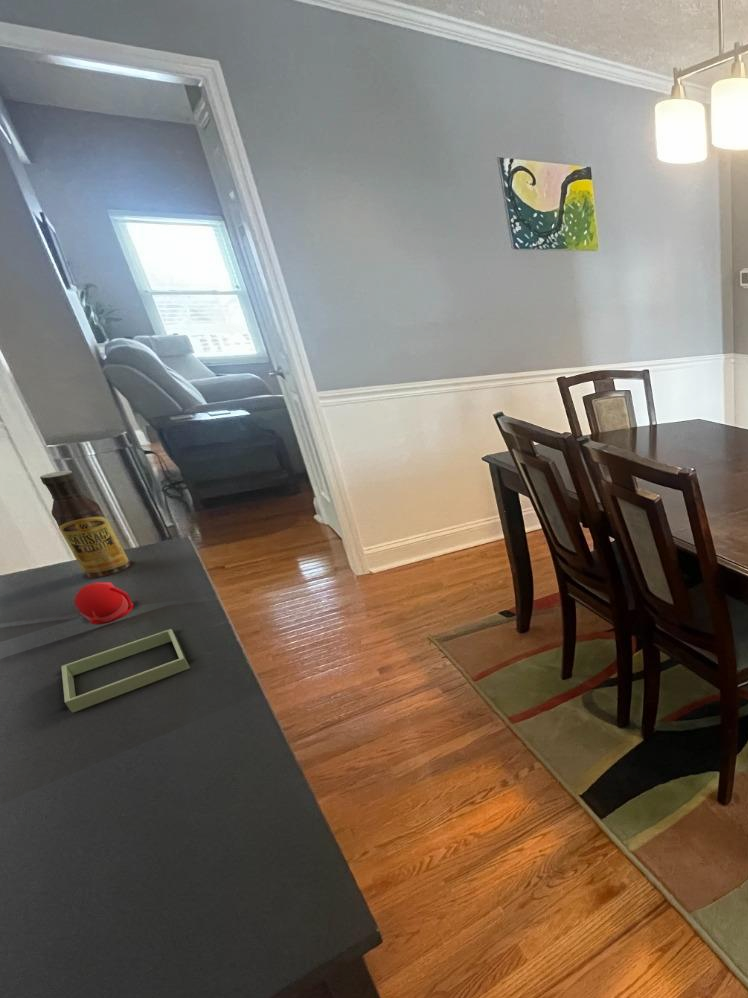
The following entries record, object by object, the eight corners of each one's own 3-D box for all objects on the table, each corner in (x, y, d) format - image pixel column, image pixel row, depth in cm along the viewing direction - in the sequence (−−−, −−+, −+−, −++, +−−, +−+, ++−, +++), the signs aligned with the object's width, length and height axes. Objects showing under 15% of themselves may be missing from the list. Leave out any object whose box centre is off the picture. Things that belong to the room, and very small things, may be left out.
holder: (72, 713, 77) (64, 702, 76) (68, 676, 85) (60, 666, 84) (190, 668, 85) (183, 658, 84) (177, 638, 92) (171, 628, 91)
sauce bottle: (89, 585, 110) (24, 483, 100) (87, 575, 113) (24, 476, 104) (137, 571, 114) (78, 472, 104) (133, 562, 118) (76, 466, 108)
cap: (143, 615, 99) (123, 584, 96) (94, 632, 95) (72, 600, 92) (130, 602, 103) (112, 571, 100) (83, 618, 99) (62, 586, 96)
